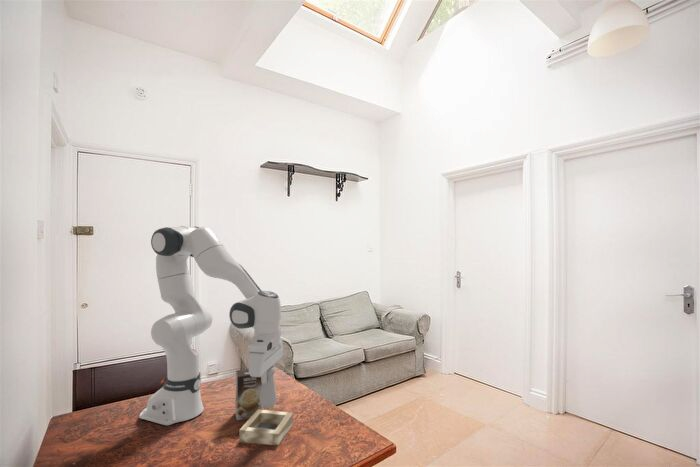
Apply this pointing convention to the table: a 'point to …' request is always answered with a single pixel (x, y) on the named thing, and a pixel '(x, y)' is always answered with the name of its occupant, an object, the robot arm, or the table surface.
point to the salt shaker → (268, 390)
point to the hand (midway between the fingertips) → (267, 379)
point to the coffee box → (247, 394)
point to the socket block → (266, 427)
